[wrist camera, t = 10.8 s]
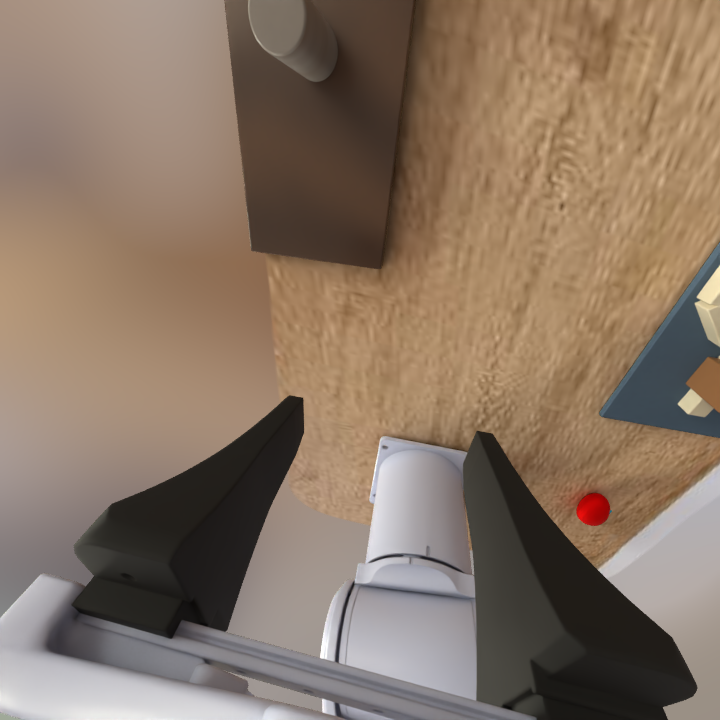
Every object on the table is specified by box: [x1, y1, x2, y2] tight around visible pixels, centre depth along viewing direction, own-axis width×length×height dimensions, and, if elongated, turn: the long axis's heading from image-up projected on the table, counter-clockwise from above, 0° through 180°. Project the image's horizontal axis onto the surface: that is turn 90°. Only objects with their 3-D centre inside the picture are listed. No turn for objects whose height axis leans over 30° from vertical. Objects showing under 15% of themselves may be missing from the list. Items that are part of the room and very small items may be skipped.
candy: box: [576, 493, 612, 526], centre depth 25 cm, size 3×2×2 cm, turn 176°
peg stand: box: [224, 0, 416, 269], centre depth 13 cm, size 14×8×5 cm, turn 175°
